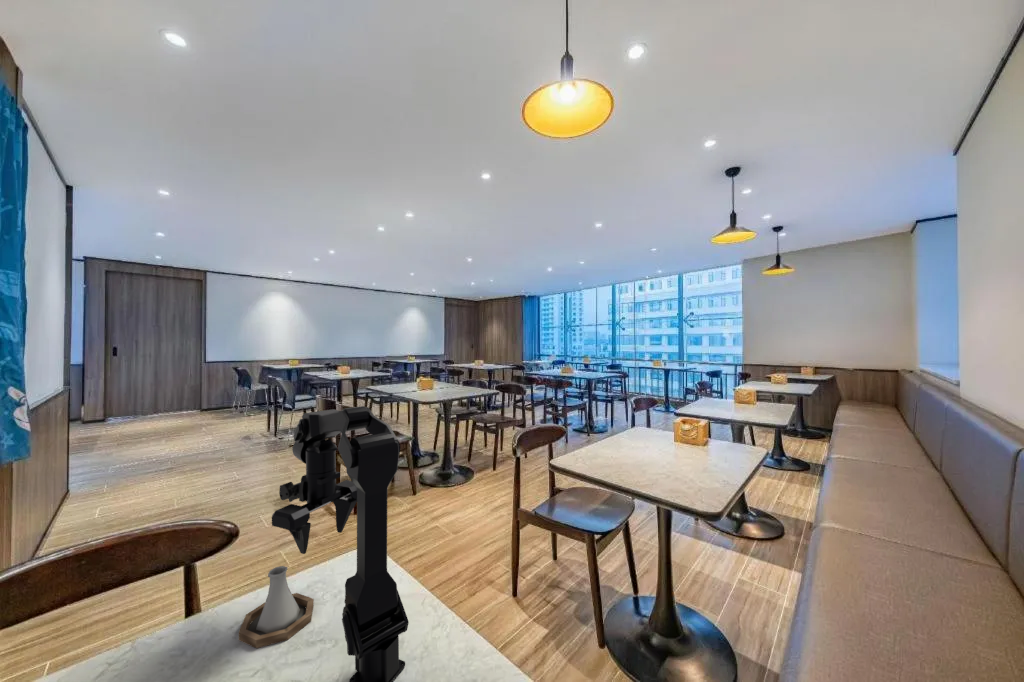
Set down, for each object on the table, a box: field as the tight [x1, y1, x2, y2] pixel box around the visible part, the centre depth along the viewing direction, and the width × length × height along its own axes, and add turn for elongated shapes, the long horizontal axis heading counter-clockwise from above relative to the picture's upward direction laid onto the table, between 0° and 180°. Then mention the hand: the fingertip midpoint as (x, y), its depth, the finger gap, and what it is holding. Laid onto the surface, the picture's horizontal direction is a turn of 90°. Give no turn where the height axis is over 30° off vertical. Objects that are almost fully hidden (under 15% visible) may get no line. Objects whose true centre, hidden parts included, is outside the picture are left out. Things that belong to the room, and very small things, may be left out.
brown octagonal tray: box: [238, 592, 315, 649], centre depth 76 cm, size 12×12×2 cm
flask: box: [256, 565, 300, 633], centre depth 76 cm, size 7×7×10 cm
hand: (322, 542), depth 83 cm, fingers open, 9 cm apart
